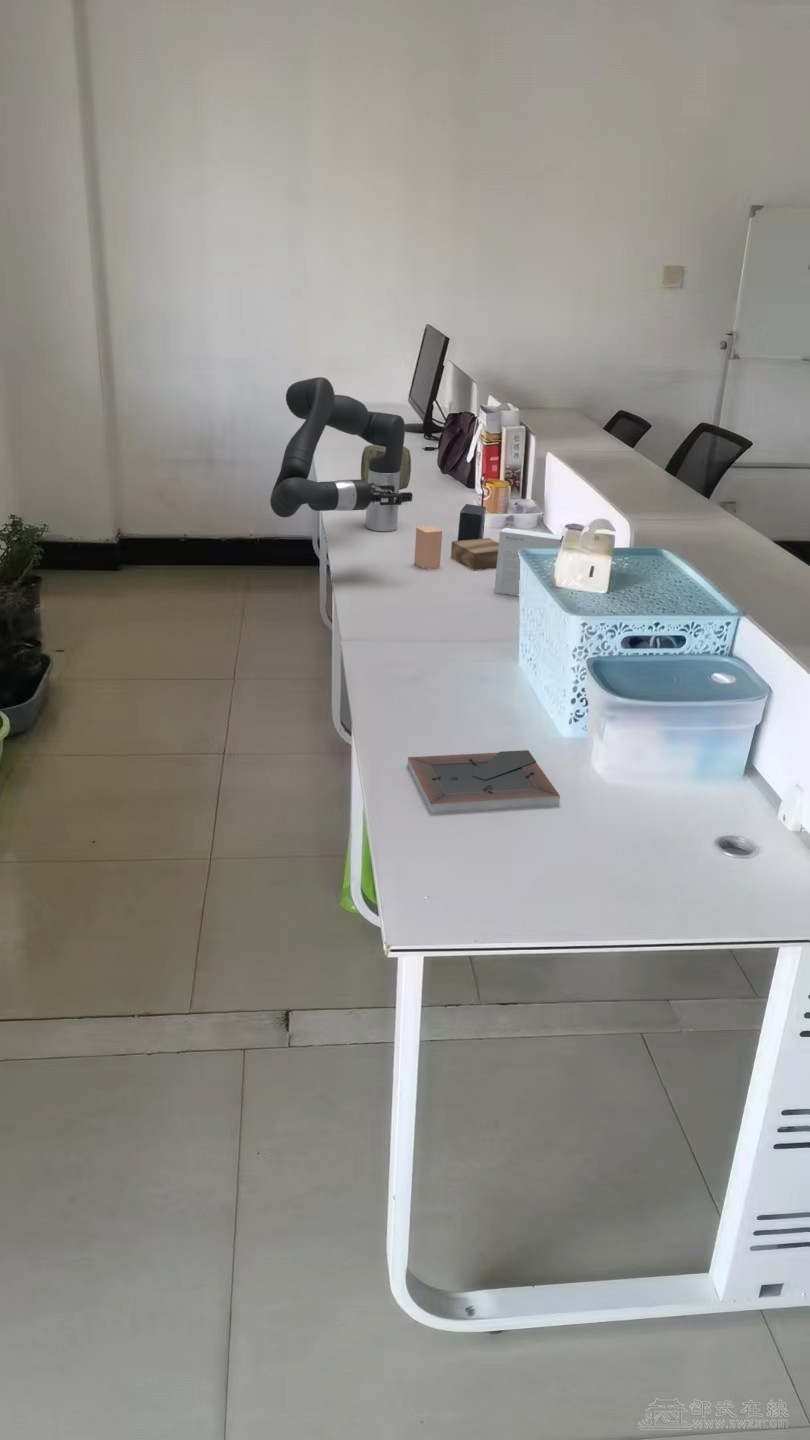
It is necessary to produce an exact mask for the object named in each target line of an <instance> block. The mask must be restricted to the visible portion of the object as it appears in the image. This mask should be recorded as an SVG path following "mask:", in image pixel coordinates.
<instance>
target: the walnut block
mask: <svg viewBox="0 0 810 1440" xmlns="http://www.w3.org/2000/svg"><path fill="white" fill-rule="evenodd" d="M498 547H499V541H496V540H495V539H492V538H490V537H486V538H484V537H483V539H473V540H463V541H458V540H455V541H453V540H452V542H451V553H450V559H452V560H454V561H455V560H456V561H455V562H457V561H458V562H457V563H460V565H462V566H464V565H465V567H466V566H467V568H468V567H469V568H468V569H470V568H471V569H470V570H472V569H473V570H472V571H478V570H477V569H481V570H487V568H491V569H496V567H497V557H498Z"/></svg>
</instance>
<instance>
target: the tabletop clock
mask: <svg viewBox="0 0 810 1440" xmlns="http://www.w3.org/2000/svg"><path fill="white" fill-rule="evenodd" d="M385 450H386V447H384V446H378V445H373V444H370V445H367V446H364V449H363V451H362V454H361V462H360V479H362V480H365V481H366V482H367V483H368V474H369V461H370V459H372V458H375V457H379V456H382V455H384V454H385ZM411 472H412V456H411V452H410V449H409V448H407V446H404V445H403V456H402V462H401V466H400V483H399V491H401V490H405V489H407V488H408V486H409V483H410V480H411Z"/></svg>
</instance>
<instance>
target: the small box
mask: <svg viewBox="0 0 810 1440" xmlns="http://www.w3.org/2000/svg"><path fill="white" fill-rule="evenodd" d="M486 512H487V507H486V506H483V505H478V504H477V505H476V504H470V503H469V504H468V503H465V505H464V506H463V507H462V509H461V510H460V512H459V519H458V521H459V522H458V532H457V533H458V534H457V541H463V540H473V539H484V534H485V532H484V531H485V523H486V522H485V521H486Z"/></svg>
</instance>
